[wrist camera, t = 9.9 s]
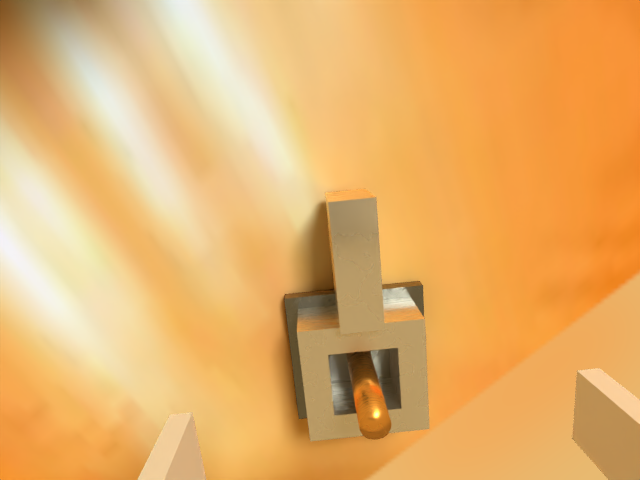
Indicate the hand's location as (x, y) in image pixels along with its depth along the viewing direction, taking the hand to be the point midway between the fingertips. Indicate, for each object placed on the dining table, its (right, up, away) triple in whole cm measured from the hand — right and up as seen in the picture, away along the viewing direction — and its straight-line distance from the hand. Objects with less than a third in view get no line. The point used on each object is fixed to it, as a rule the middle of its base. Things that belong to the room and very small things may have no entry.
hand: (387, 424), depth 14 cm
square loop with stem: (0, +1, +18) cm, 18 cm away
